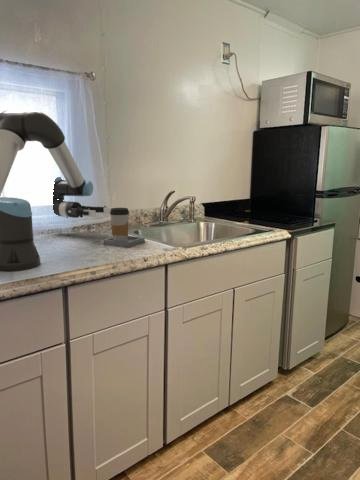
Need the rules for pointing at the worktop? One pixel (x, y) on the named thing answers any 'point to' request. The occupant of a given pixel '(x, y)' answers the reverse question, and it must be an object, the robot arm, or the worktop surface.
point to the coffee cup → (119, 224)
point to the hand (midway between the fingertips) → (105, 212)
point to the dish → (131, 242)
